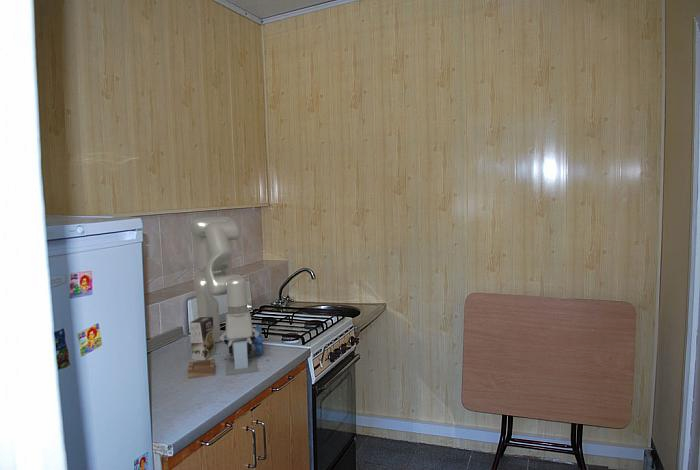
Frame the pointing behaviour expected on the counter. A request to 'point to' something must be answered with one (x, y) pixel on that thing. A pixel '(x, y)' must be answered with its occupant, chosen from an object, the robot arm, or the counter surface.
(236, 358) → the block
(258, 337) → the grapes
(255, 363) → the mat
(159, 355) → the counter surface
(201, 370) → the pocket holder
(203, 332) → the coffee box
